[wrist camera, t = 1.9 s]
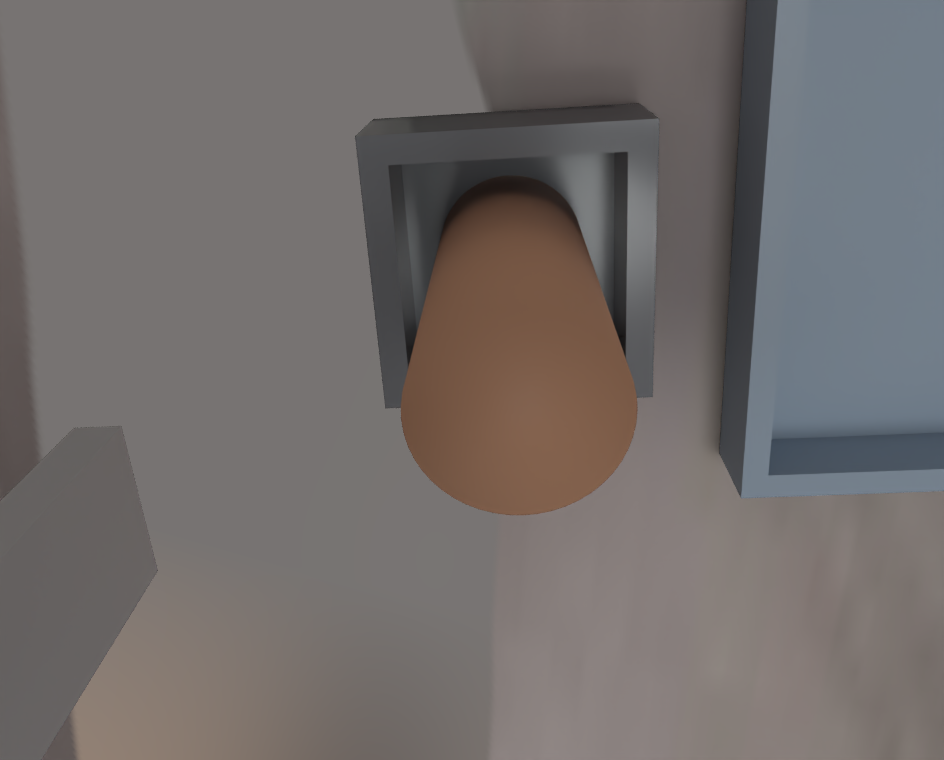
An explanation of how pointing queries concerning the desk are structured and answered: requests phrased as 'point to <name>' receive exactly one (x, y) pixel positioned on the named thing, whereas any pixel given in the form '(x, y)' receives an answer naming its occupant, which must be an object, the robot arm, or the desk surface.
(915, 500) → the desk surface
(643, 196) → the grey square open box
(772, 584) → the desk surface
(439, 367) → the dowel
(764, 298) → the tray
